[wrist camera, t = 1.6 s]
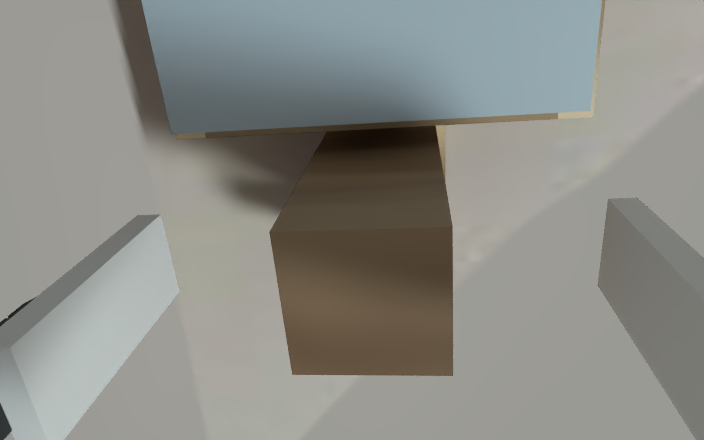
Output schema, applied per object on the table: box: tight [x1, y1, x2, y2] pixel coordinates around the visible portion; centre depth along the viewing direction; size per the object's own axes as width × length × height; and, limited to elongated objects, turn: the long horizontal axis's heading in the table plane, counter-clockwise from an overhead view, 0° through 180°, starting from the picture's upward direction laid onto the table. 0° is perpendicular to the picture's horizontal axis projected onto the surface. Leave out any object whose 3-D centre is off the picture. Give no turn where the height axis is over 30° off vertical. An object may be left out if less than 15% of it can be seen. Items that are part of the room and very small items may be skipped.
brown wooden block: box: [270, 126, 453, 376], centre depth 18 cm, size 4×4×12 cm
